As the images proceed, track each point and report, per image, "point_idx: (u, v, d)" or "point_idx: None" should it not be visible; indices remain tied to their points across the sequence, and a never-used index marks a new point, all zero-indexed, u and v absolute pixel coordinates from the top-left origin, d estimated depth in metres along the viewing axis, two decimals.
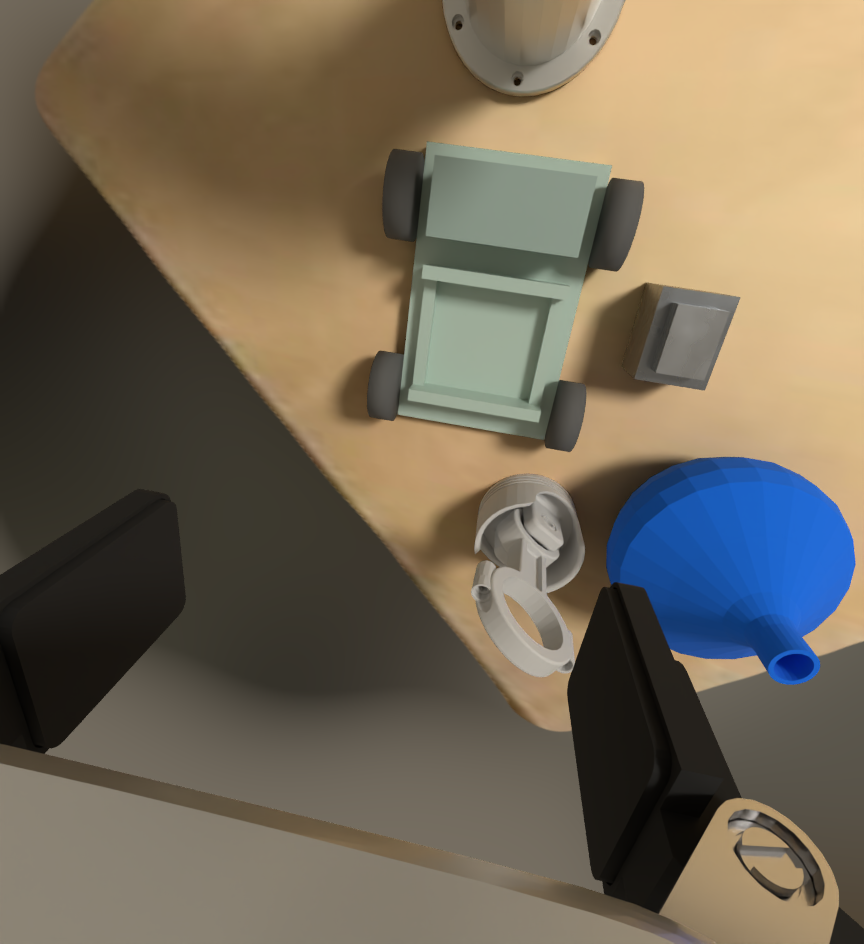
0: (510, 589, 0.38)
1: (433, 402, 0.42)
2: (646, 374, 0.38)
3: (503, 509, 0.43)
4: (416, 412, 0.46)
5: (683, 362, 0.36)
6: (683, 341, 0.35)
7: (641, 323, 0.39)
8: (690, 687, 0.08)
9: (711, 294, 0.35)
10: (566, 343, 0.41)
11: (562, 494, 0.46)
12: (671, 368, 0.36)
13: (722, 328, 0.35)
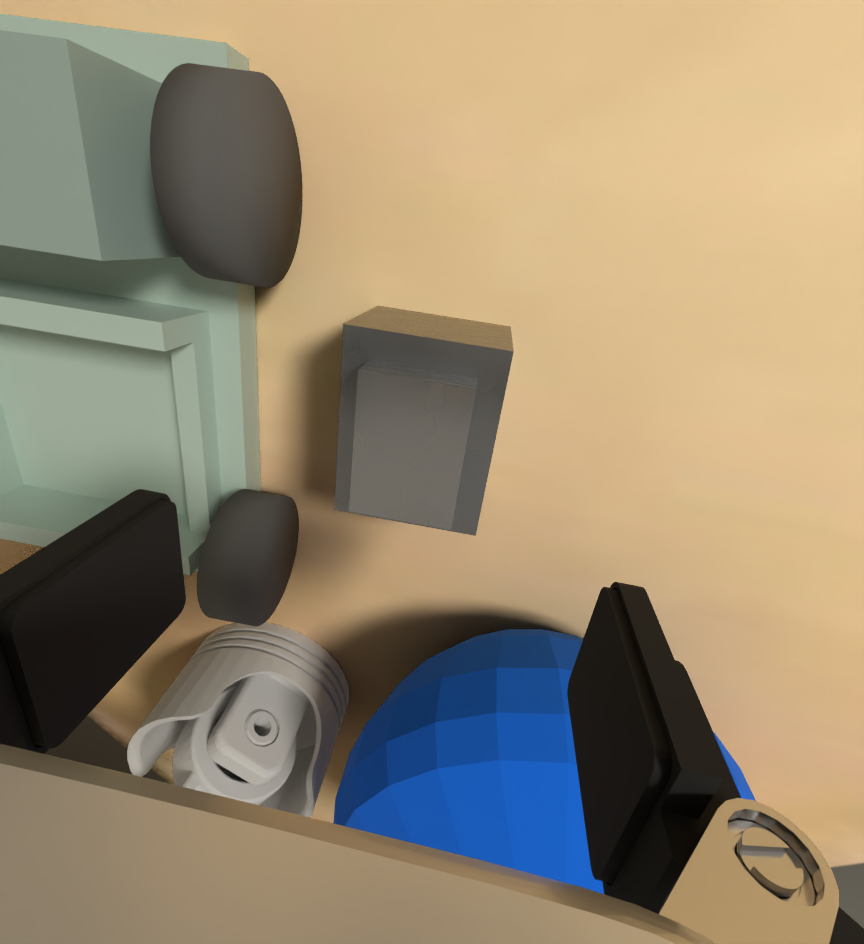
0: None
1: None
2: None
3: (154, 722, 0.23)
4: None
5: (400, 493, 0.16)
6: (388, 452, 0.16)
7: None
8: (690, 687, 0.08)
9: (449, 344, 0.15)
10: (240, 422, 0.21)
11: (299, 667, 0.27)
12: (378, 504, 0.16)
13: (466, 426, 0.15)
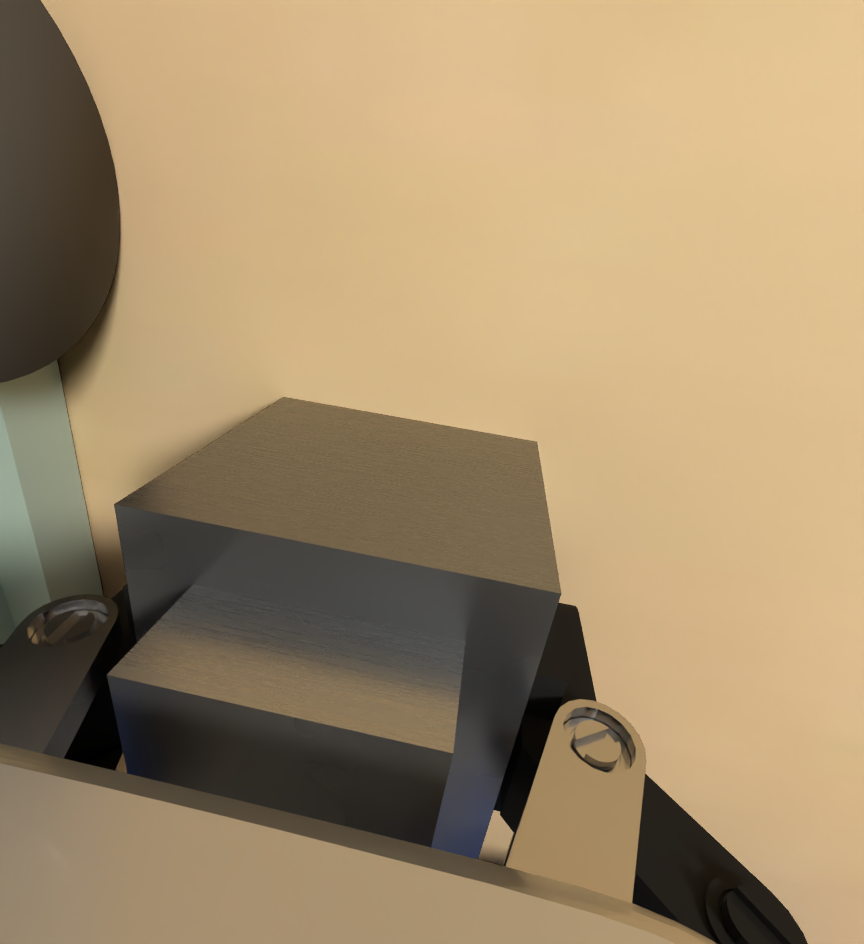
0: None
1: None
2: None
3: None
4: None
5: None
6: None
7: None
8: (579, 626, 0.09)
9: (389, 565, 0.06)
10: (44, 595, 0.12)
11: None
12: None
13: (427, 823, 0.05)
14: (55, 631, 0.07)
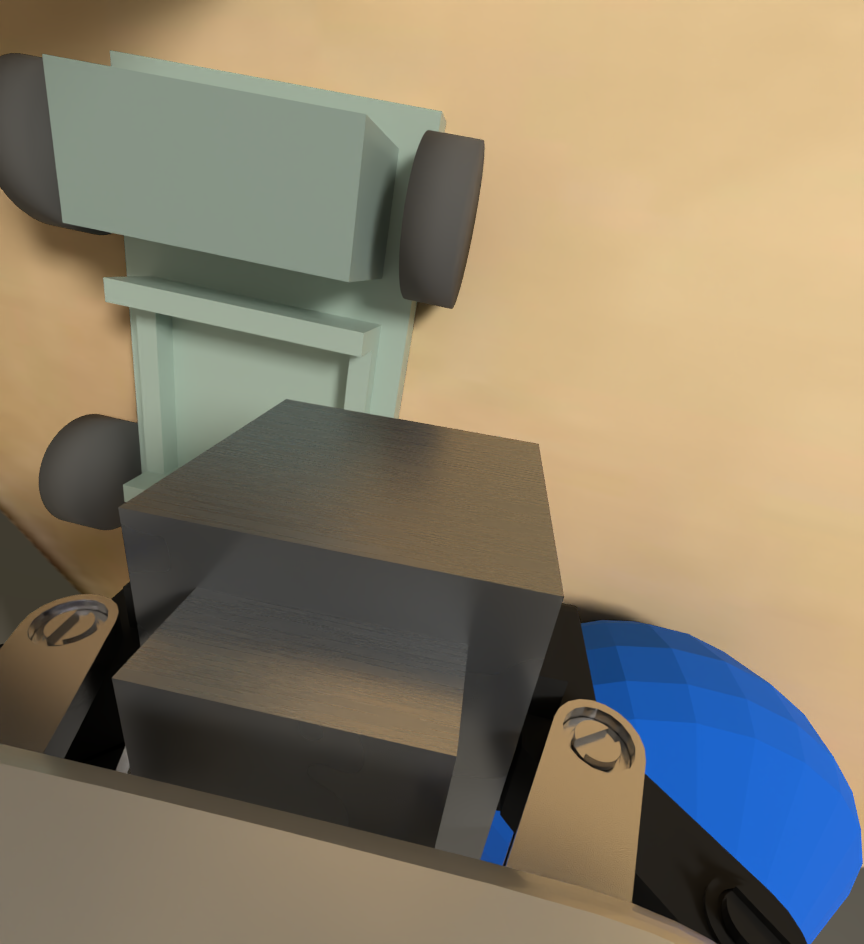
0: None
1: None
2: None
3: None
4: None
5: None
6: None
7: None
8: (579, 626, 0.09)
9: (392, 568, 0.06)
10: None
11: None
12: None
13: (431, 825, 0.05)
14: (55, 631, 0.07)
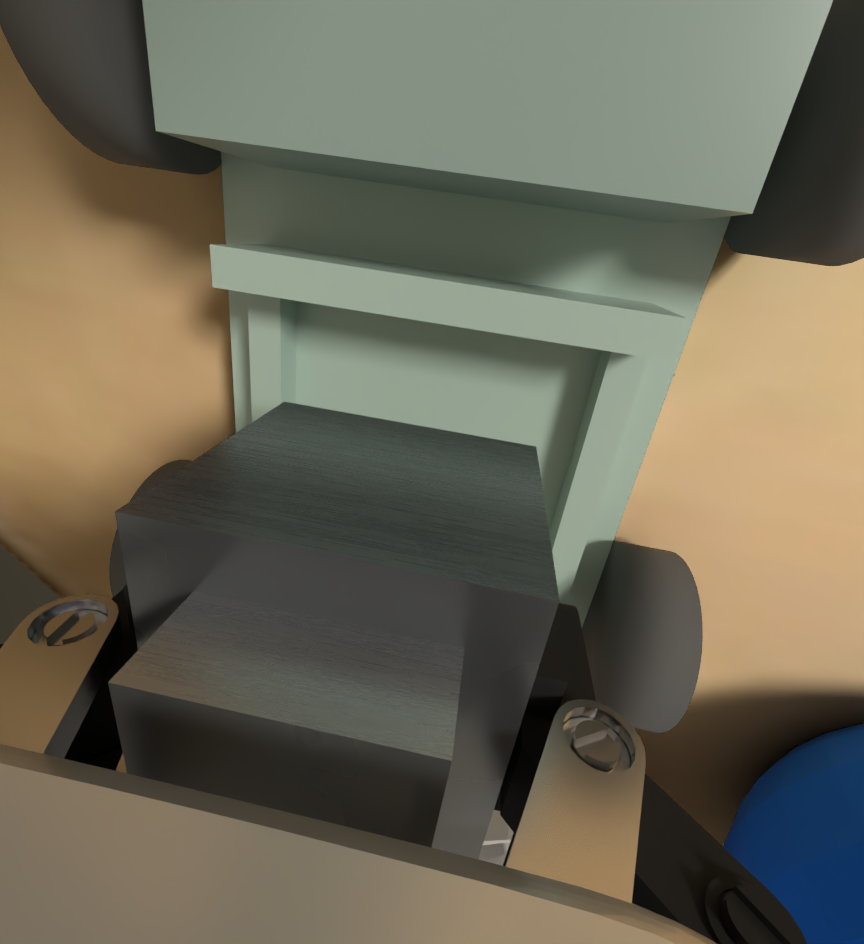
0: None
1: None
2: None
3: None
4: None
5: None
6: None
7: None
8: (579, 626, 0.09)
9: (388, 572, 0.06)
10: (640, 455, 0.16)
11: None
12: None
13: (426, 829, 0.05)
14: (56, 631, 0.07)
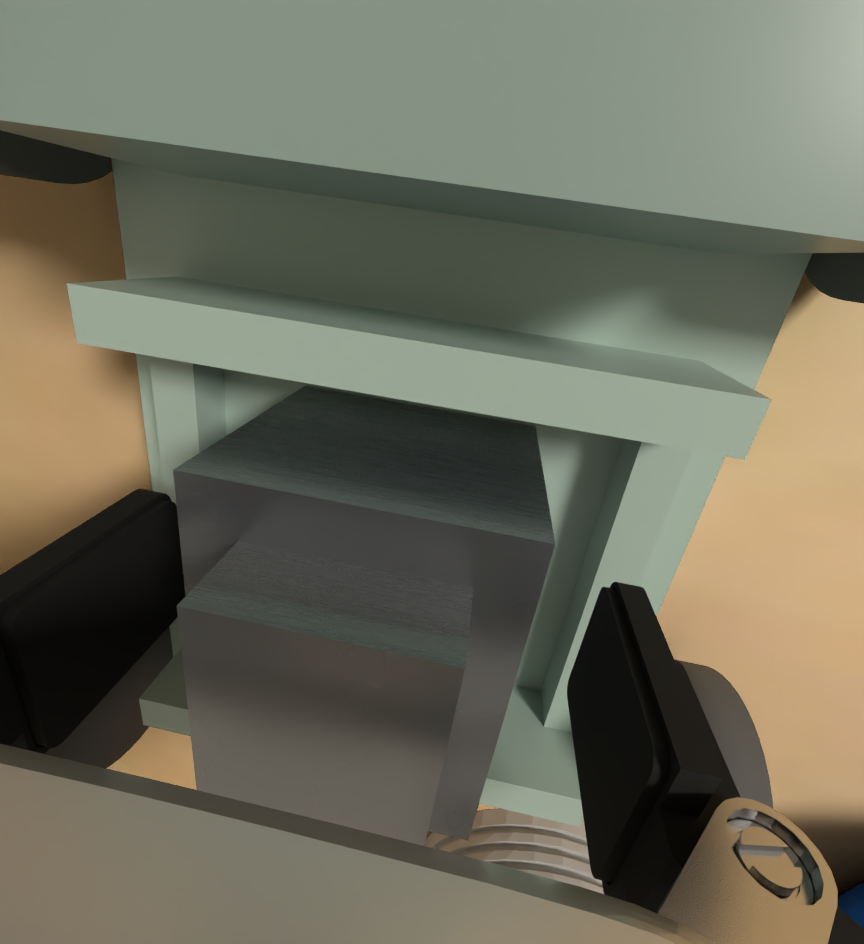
0: None
1: None
2: None
3: None
4: None
5: None
6: (269, 758, 0.07)
7: None
8: (689, 687, 0.08)
9: (408, 521, 0.07)
10: (677, 553, 0.12)
11: None
12: None
13: (442, 733, 0.06)
14: None
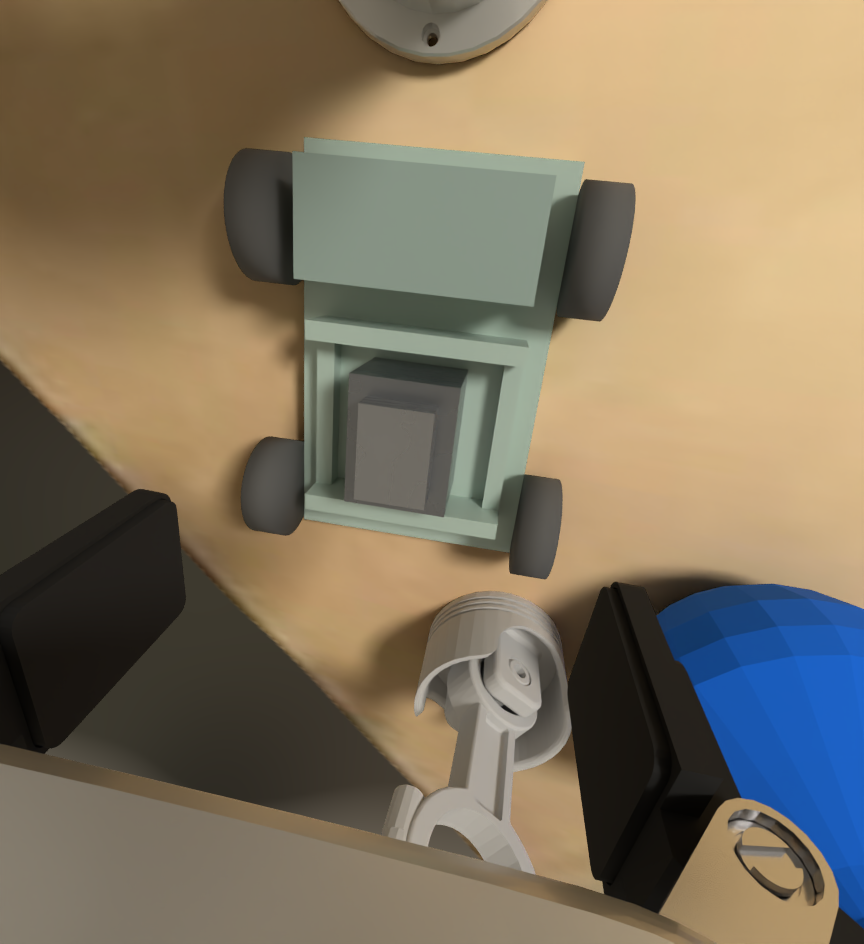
0: (451, 820, 0.24)
1: (341, 512, 0.29)
2: None
3: (450, 662, 0.30)
4: (329, 516, 0.33)
5: (388, 485, 0.24)
6: (379, 456, 0.23)
7: None
8: (690, 687, 0.08)
9: (419, 384, 0.23)
10: (532, 422, 0.28)
11: (539, 625, 0.33)
12: (374, 493, 0.24)
13: (429, 437, 0.23)
14: None
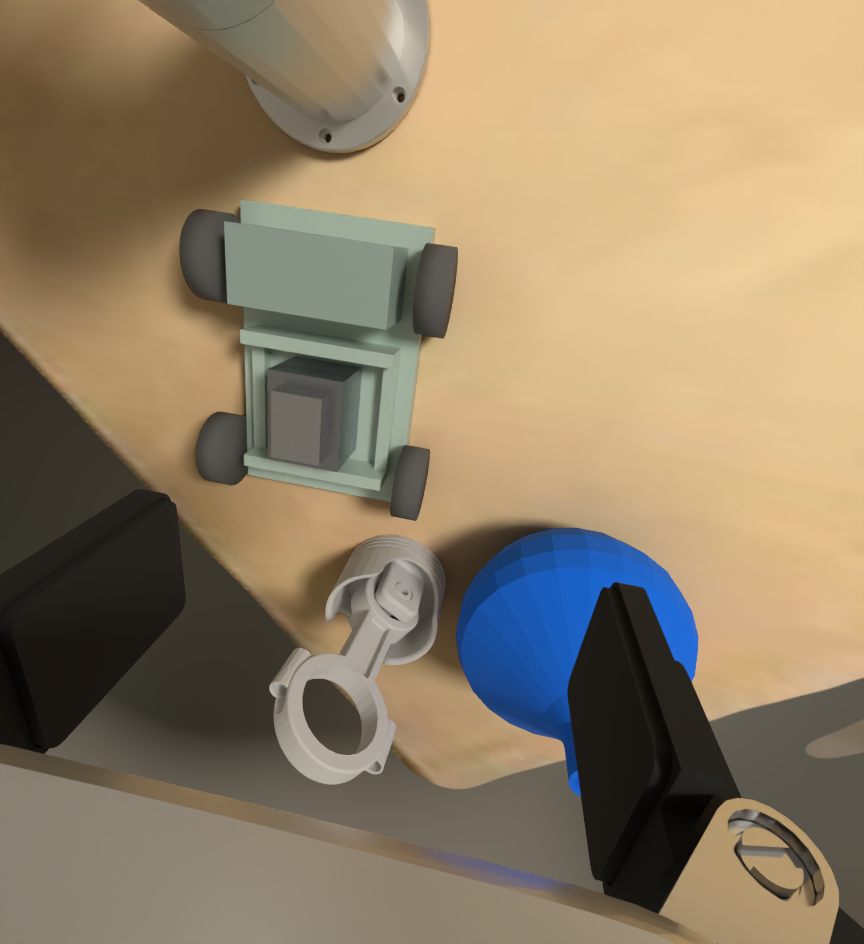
0: (332, 675, 0.35)
1: (270, 468, 0.40)
2: None
3: (349, 579, 0.41)
4: (266, 473, 0.43)
5: (293, 447, 0.35)
6: (287, 427, 0.34)
7: None
8: (690, 687, 0.08)
9: (314, 378, 0.34)
10: (409, 407, 0.39)
11: (422, 559, 0.44)
12: (284, 453, 0.35)
13: (319, 415, 0.33)
14: None
